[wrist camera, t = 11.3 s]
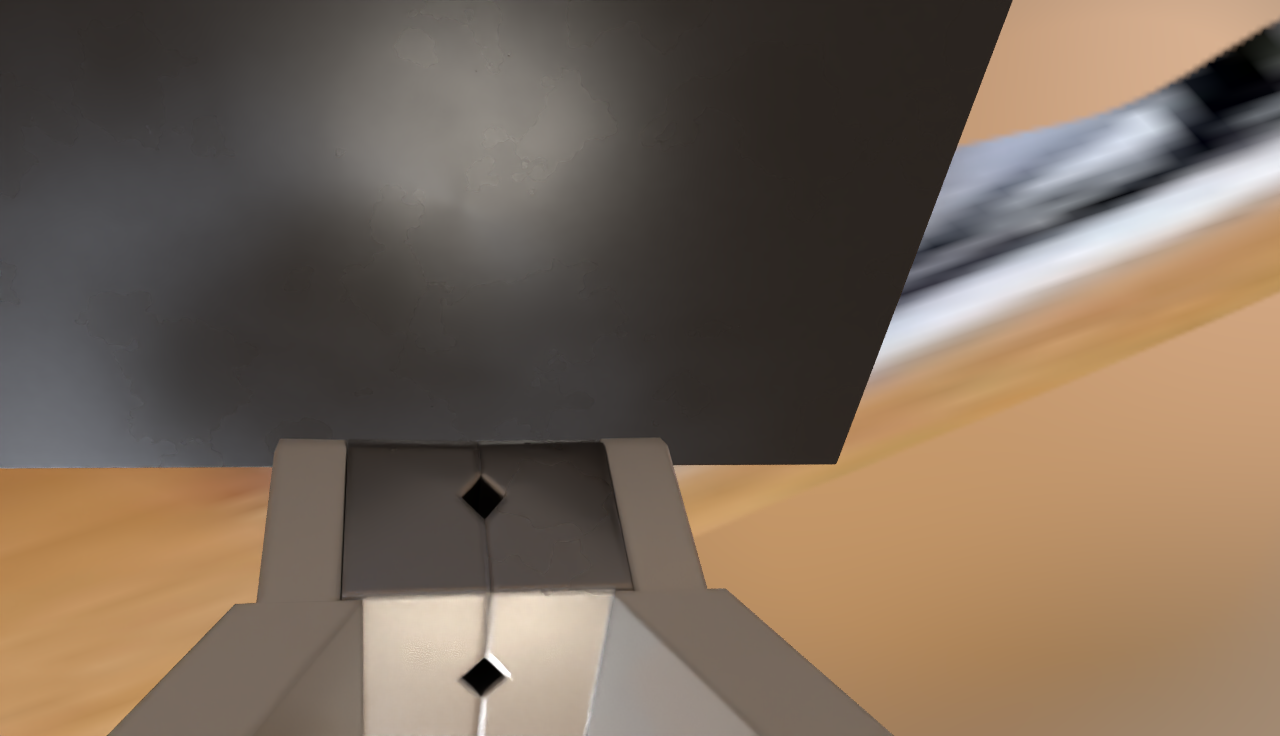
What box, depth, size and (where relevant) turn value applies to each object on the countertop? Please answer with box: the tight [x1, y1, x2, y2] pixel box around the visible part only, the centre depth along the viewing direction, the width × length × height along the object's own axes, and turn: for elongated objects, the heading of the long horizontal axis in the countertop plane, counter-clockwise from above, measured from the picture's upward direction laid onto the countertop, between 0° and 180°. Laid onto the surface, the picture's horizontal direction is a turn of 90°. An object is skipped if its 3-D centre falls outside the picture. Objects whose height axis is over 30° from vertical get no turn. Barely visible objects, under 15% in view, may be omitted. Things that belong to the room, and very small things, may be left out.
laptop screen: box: [0, 0, 1012, 468], centre depth 23 cm, size 15×20×1 cm
